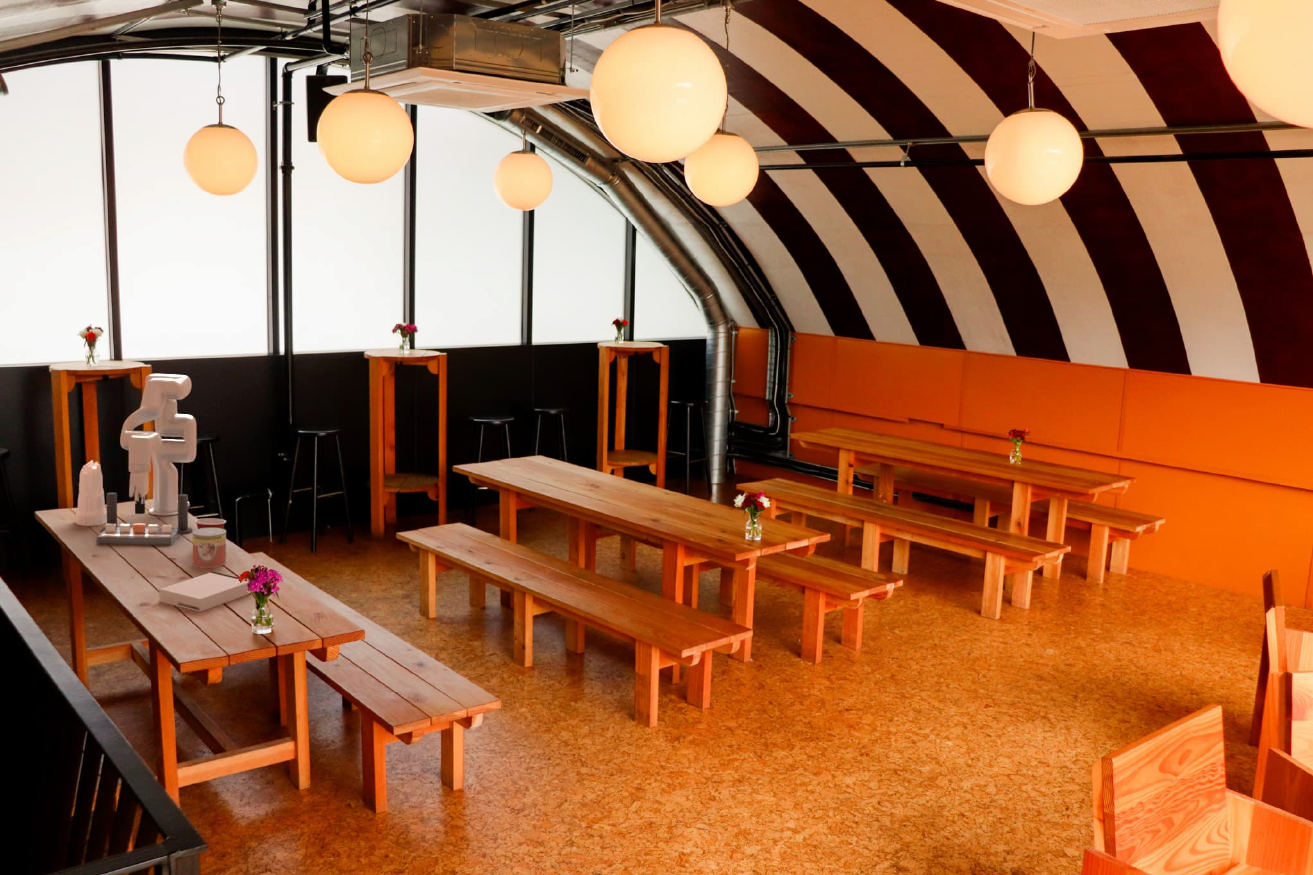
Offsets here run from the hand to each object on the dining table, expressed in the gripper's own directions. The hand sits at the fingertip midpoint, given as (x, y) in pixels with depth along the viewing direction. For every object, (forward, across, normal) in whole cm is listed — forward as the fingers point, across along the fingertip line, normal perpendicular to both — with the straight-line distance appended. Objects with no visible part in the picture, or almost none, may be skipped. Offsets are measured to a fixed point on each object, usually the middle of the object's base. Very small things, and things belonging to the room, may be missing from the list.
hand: (140, 513), depth 401 cm
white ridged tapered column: (+10, -23, -24) cm, 35 cm away
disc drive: (+11, +69, +37) cm, 79 cm away
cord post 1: (+10, -12, -13) cm, 20 cm away
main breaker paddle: (+7, +1, 0) cm, 7 cm away
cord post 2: (+10, -12, +13) cm, 20 cm away
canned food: (+11, +30, +31) cm, 44 cm away
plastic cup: (+10, +14, +28) cm, 33 cm away
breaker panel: (+10, +1, 0) cm, 10 cm away
